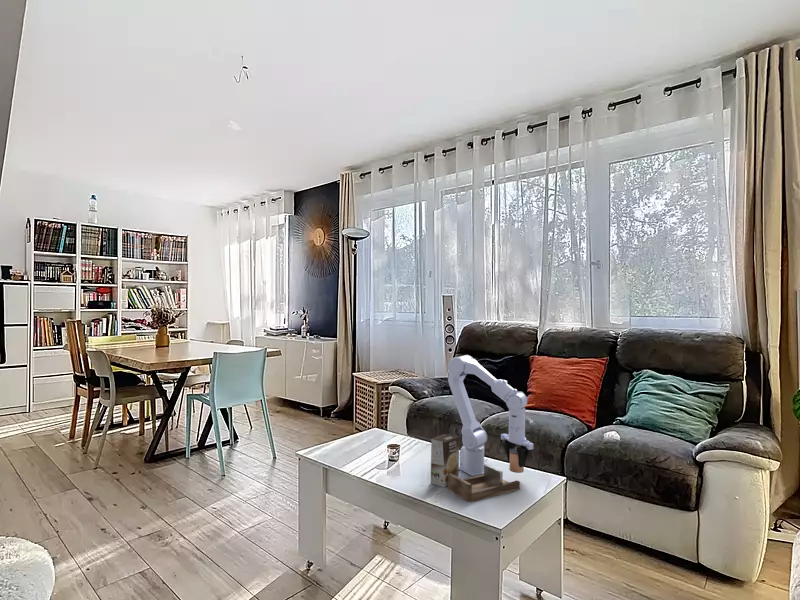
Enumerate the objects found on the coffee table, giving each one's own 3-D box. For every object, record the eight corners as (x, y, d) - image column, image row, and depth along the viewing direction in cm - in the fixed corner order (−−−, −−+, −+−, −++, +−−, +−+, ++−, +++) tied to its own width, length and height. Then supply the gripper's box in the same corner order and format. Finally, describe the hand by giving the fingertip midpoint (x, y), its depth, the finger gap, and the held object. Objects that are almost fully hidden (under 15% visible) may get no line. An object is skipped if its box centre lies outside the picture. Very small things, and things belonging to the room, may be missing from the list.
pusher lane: (447, 489, 169) (447, 473, 169) (496, 477, 180) (497, 462, 180) (469, 502, 159) (469, 485, 159) (520, 489, 170) (520, 473, 170)
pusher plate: (483, 481, 175) (483, 464, 175) (486, 480, 175) (486, 464, 175) (499, 489, 168) (499, 472, 168) (502, 488, 168) (502, 471, 168)
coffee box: (444, 488, 170) (445, 442, 170) (430, 483, 174) (430, 438, 174) (459, 480, 177) (459, 436, 177) (444, 476, 181) (445, 432, 181)
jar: (506, 469, 178) (506, 448, 178) (516, 466, 181) (516, 446, 181) (516, 473, 174) (516, 452, 173) (527, 471, 176) (527, 450, 176)
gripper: (539, 429, 173) (539, 468, 173) (510, 420, 185) (510, 456, 185) (525, 432, 169) (524, 471, 169) (496, 423, 182) (496, 459, 182)
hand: (516, 464), depth 177 cm, fingers closed on jar, 5 cm apart
